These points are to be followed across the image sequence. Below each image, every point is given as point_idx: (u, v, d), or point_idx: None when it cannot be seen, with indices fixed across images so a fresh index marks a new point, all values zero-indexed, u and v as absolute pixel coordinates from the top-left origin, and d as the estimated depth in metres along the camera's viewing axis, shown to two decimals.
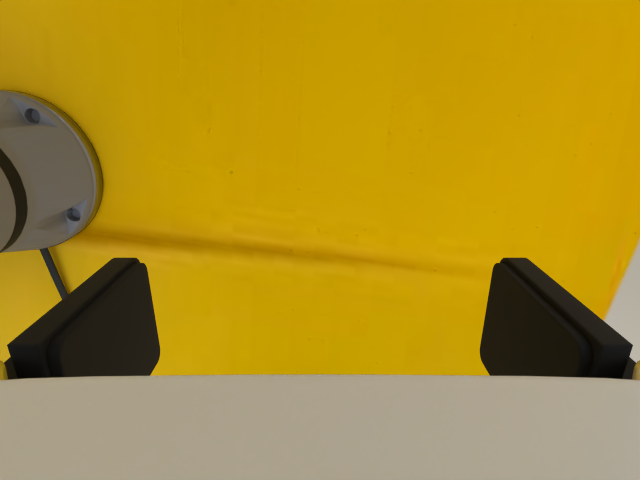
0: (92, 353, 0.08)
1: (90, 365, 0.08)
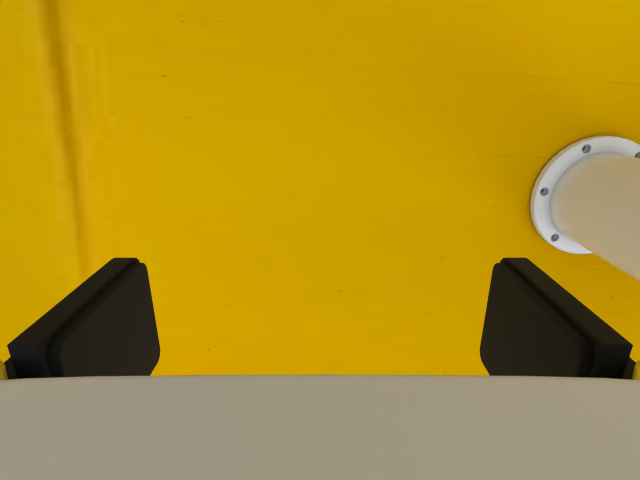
0: (92, 353, 0.08)
1: (90, 365, 0.08)
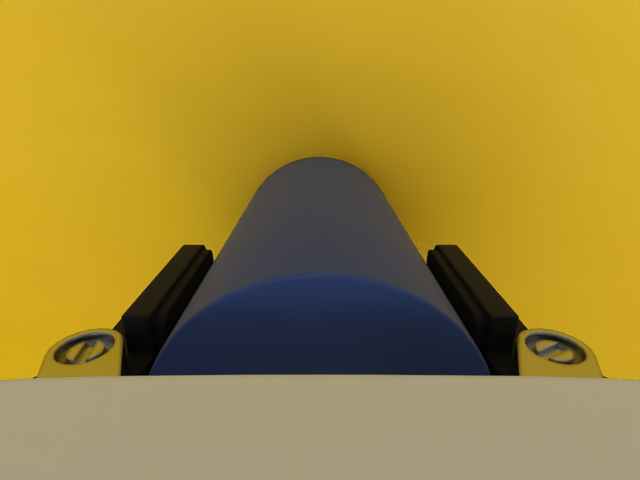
0: None
1: None
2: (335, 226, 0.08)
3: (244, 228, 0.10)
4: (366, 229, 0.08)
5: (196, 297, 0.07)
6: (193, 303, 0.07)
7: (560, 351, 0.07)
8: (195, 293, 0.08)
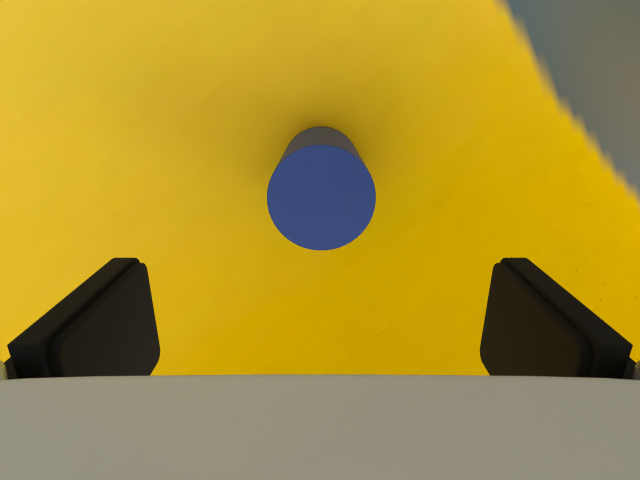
0: (92, 353, 0.08)
1: (90, 365, 0.08)
2: (326, 139, 0.24)
3: (292, 146, 0.25)
4: (337, 141, 0.24)
5: (282, 159, 0.23)
6: (282, 160, 0.23)
7: None
8: (278, 163, 0.24)
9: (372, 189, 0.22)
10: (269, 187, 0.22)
